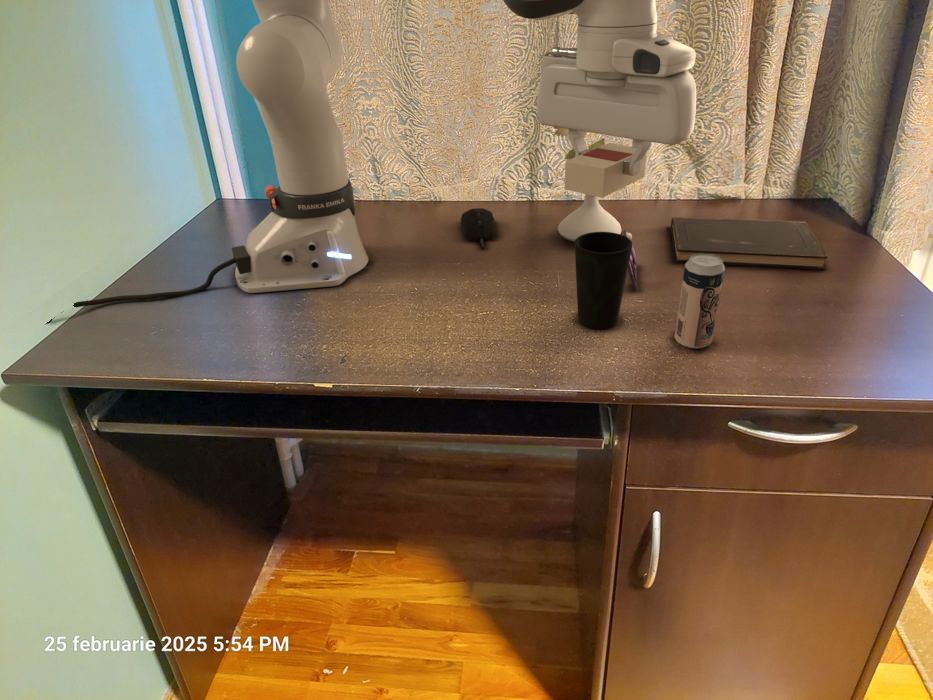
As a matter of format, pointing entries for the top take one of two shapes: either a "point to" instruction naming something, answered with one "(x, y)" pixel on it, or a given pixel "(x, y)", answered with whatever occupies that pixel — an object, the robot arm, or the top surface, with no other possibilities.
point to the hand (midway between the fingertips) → (606, 169)
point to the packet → (601, 170)
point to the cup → (601, 277)
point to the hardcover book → (748, 242)
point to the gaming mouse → (478, 225)
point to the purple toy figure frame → (632, 272)
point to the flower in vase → (586, 209)
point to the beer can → (699, 300)
